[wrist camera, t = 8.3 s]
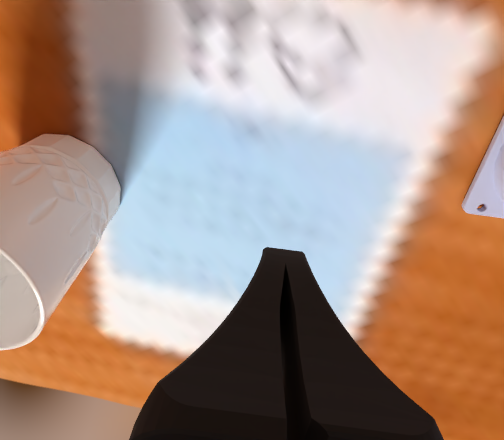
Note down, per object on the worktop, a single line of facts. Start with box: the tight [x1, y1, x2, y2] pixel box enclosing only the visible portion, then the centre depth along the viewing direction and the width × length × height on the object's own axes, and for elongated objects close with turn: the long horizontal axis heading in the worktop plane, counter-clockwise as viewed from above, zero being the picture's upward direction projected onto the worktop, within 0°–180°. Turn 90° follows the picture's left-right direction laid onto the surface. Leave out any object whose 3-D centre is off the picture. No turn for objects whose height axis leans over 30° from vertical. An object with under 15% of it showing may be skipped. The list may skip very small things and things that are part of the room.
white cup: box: [0, 134, 121, 350], centre depth 20 cm, size 8×8×10 cm
